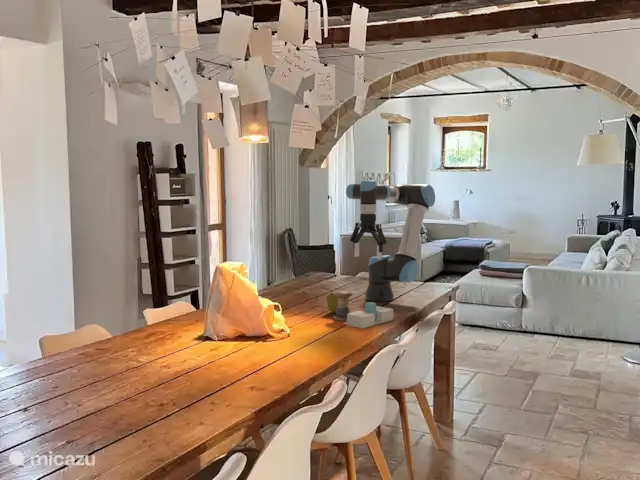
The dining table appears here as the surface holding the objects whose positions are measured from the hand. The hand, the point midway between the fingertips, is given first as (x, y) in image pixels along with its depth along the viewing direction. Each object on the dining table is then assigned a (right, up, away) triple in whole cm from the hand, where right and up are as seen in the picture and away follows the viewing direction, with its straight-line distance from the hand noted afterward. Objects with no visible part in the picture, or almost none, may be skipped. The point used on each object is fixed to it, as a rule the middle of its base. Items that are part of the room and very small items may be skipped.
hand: (367, 257), depth 298 cm
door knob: (-12, -28, -9) cm, 32 cm away
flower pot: (-14, -27, +4) cm, 30 cm away
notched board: (0, -29, -16) cm, 33 cm away
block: (0, -28, -16) cm, 32 cm away
